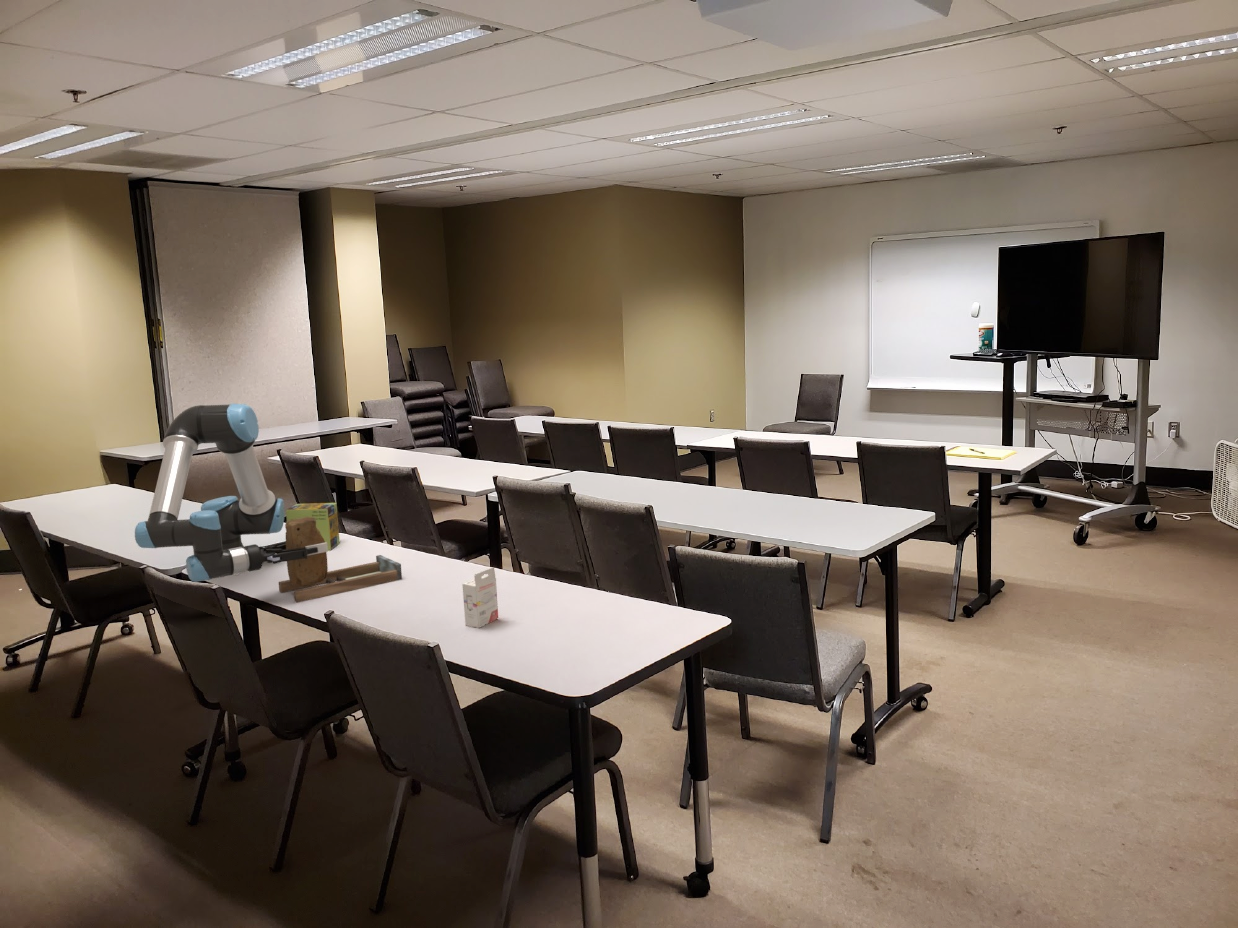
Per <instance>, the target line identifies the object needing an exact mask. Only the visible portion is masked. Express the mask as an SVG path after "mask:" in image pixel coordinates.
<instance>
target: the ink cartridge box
mask: <svg viewBox="0 0 1238 928" xmlns="http://www.w3.org/2000/svg"><path fill="white" fill-rule="evenodd" d="M485 575H487V576H485ZM473 577H474V578H473V579H471V580H469V581H466V582H464V583H462V596H463V610H464V623H465V625H464V626H465V627H466V626H467V627H473V628H478V629H479V628H482V627H484V626H486V625H488V624H490V623H492V622H495V621H496V620H495V619H497V618H498V619H499V610H498V609H499V606H498V589H497V588H498V587H497V578H496V571H495V567H491V568H488V569H484V570H483V571H481V572H478V573H476V574H474V576H473ZM498 619H497V620H498ZM491 621H492V622H491ZM485 624H486V625H485ZM481 626H482V627H481Z"/></svg>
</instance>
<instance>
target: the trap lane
mask: <svg viewBox="0 0 1238 928" xmlns="http://www.w3.org/2000/svg"><path fill="white" fill-rule="evenodd" d="M375 560H376V561H373V562H369V563H364V564H359V565H355V566H354V565H353V566H350V567H346V568H340V569H335V570H329V571H328V572H327V576H326V579H324V581H322V582H319V583H316V584H314V585H310V586H295V585H293V584H292V583H291V581H290V579H287V580H281V581H278V591H279V592H280V593H287V592H291V591H293V598H294V602H295V603H301V602H306V601H309V600H310V601H311V600H313V599H318V598H319V599H320V598H323V597H328V596H332V595H337V594H341V593H345V592H350V591H351V592H352V591H354V590H358V589H363V588H364V589H365V588H368V587H374V586H377V585H383V584H387V583H392V582H395V581H399V580H402V579H403V577H402V576H403V575H402V563H400V562H398V561H395V560H393V559H390V558H389V557H386V556H384V555H381V554H378V555H375Z"/></svg>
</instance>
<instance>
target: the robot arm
mask: <svg viewBox="0 0 1238 928" xmlns="http://www.w3.org/2000/svg"><path fill="white" fill-rule="evenodd" d="M259 428H260V427H259V424H258V417H257V414H256V412H255V410H254V409H253V408H252V407H251V406H250V405H247V404H243V403H231V404H207V405H201V404H200V405H194V406H191V407H189V408H187V409H185V410H182V412H181V413H180V414H178V415H177V416H176V417H175V418H174V419H173V420H172V421H171V423H170V424H169V426H168V427H167V429H166V432H165V433H164V437H163V441H162V446H163V448H164V452H163V456H162V461H161V464H160V469H159V473H158V476H157V477H158V478H157V481H156V486H155V490H154V494H153V499H152V502H151V507H150V510H149V515H148V519H147V520H144V521H139V522H138V523H137V525H136V526H135V527H134V528H135V529H134V540H135V543H136V544H137V546H138V547H139V548H142V549H158V548H160V549H161V548H172V547H192V550H193V554H192V555H190V556H188V557H186V561H185V563H186V564H185V569H186V574H187V576H188V578H189V580H190V581H192V582H193V583H194V582H195V583H197V582H202V581H210V580H215V579H220V578H224V577H228V576H233V575H234V576H236V577H237V576H239V574H243V573H246V572H254V571H258V570H261V569H262V567H263V564H264V563H272V564H273V565H275V564H279V563H284V562H287V561H291V560H297V559H303V558H305V559H307V556H308V555H313V554H318V553H323V552H326V553H327V552H329V551H328V547H327V543H321V544H315V545H310V546H305V548H297V549H287V550H286V540H285V541H282V542H281V541H280V542H277V543H273V544H267V545H263V546H259V545H257V544H249V545H245V546H244V543H243V542H242V535H243V536H245V535H271V534H277V533H279V532H281V531H282V529H283V527H284V524H285V523H284V521H285V515H286V510H285V508H286V507H285V501H284V500H283V498H280V497H277V498H276V496H275V494H274V492H273V491H271V490H270V489H268V487H267V483H266V481H265V478H264V477H265V476H264V475H263V471H262V468H261V466H260V463H259V460H258V457H257V454H256V450H255V448H254V444H255V442H256V440H257V439H258V437H259V432H260V430H259ZM201 444H215V446H216V448H217V451H219V452H221V453H222V454H224V455H225V458H226V460H227V464H228V466H229V469H230V472H231V474H232V476H233V480H234V483H235V485H236V488H237V490H238V493H239V496H240V499H239V498H238V496H236V495H228V496H227V495H226V496H222V497H218V498H217V497H216V498H214V499H210V500H207V501H205V502H203V503H202V504H201V506H200V510H198V511H194V512H192V513H190V515H189V519H187V518H185V519H179V516H180V510H181V506H182V501H183V498H184V492H185V489H186V485H187V480H188V476H189V471H190V467H191V462H192V458H193V454H195V453H196V452H197V451H198V448H199V445H201Z"/></svg>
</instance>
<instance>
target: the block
mask: <svg viewBox="0 0 1238 928" xmlns="http://www.w3.org/2000/svg"><path fill="white" fill-rule="evenodd" d="M284 524H285V525H284V528H285V531H286V532H285V541H286V550H287V549H297V548H305V546H310V545H315V544H321V543H325V540H324V538H323V537H322V535H321V533H320V531H319V530H318V529H317V528H316V520H315V519H314V518H312V517H303V518H298V519H294V520H290V521H288V522H287V521H286V522H285V523H284ZM327 555H328V554H327V552H323V553H318V554H313V555H308V556H307V559H305V558H303V559H297V560H291V561H286V568H287V575H288V580H290V581H291V583H292V584H293V585H295V586H310V585H314V584H316V583H319V582H322V581H324V579H326V576H327V572H329V571H328V570H329V569H328V566H329V564H328V556H327Z"/></svg>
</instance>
